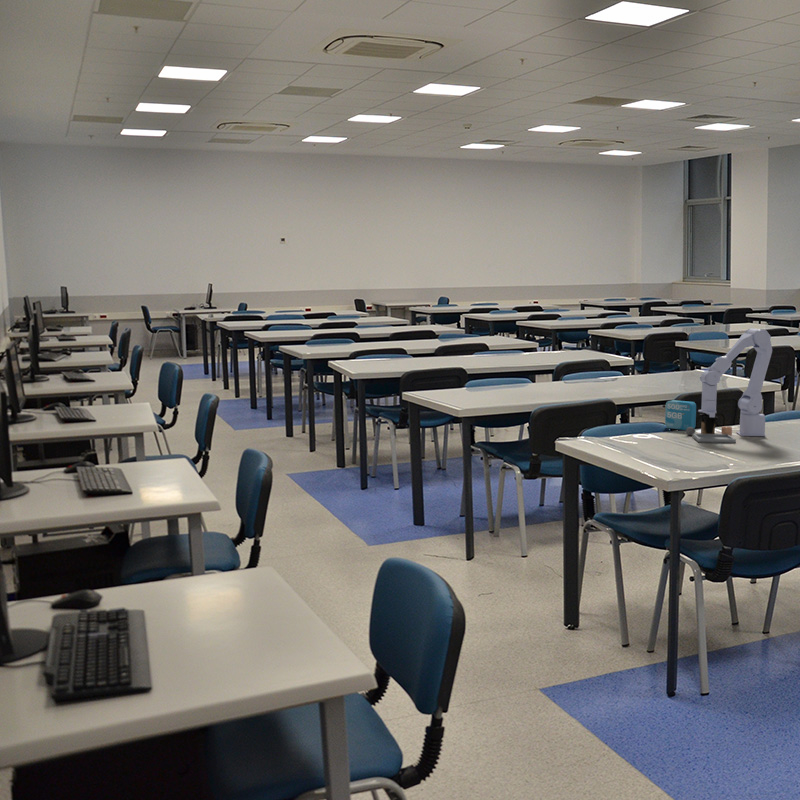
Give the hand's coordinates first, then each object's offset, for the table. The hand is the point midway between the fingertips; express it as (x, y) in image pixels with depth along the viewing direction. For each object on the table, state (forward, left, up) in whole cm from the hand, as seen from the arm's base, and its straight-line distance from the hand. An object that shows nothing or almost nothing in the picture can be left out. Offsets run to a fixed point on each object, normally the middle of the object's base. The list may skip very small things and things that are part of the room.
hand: (707, 432), depth 345 cm
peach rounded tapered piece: (-7, +2, -2) cm, 7 cm away
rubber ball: (+7, 0, -1) cm, 7 cm away
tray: (0, +11, -1) cm, 11 cm away
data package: (+8, -17, -2) cm, 19 cm away
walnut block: (0, 0, -1) cm, 1 cm away
